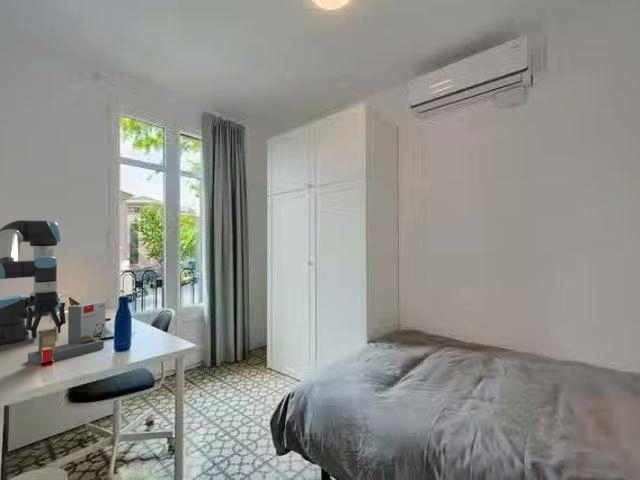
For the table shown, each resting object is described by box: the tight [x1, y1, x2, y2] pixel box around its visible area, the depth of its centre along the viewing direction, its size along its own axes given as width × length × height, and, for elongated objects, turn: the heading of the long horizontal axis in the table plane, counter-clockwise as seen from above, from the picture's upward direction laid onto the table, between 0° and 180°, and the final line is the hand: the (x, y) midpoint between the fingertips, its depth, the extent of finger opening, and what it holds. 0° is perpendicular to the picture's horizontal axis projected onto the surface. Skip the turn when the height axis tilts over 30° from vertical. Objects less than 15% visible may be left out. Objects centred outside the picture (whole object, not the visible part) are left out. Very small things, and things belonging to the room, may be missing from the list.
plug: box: [37, 328, 56, 355], centre depth 145 cm, size 5×5×13 cm
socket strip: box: [27, 338, 105, 366], centre depth 152 cm, size 10×26×4 cm, turn 148°
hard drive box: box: [67, 300, 107, 344], centre depth 171 cm, size 16×8×20 cm, turn 168°
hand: (46, 342), depth 145 cm, fingers open, 6 cm apart
